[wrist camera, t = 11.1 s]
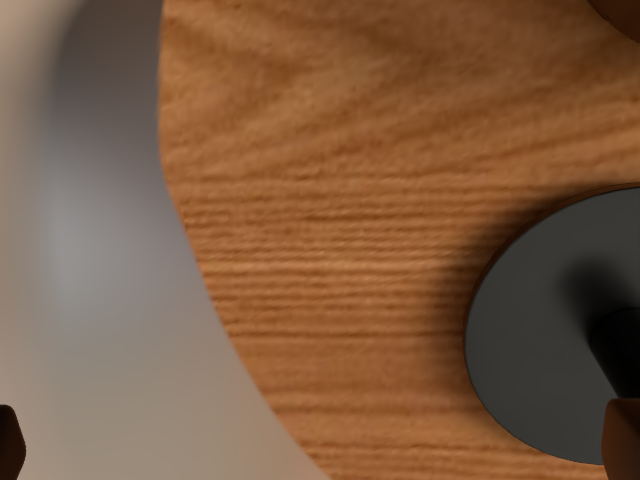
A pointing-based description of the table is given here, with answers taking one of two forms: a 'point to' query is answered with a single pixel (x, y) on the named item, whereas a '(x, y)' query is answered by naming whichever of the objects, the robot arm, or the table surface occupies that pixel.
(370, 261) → the table surface
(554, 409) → the lid
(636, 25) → the pot
